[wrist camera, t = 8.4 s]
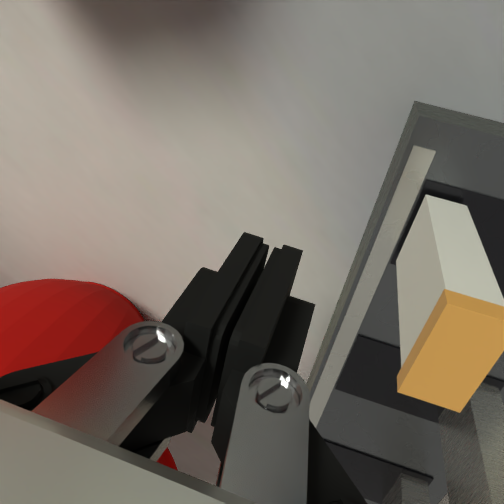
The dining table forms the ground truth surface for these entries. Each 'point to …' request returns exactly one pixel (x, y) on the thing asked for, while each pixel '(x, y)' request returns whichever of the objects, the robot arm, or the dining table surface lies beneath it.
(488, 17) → the dining table surface
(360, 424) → the breaker panel
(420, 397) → the handle
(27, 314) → the ceramic cup
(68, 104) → the dining table surface
